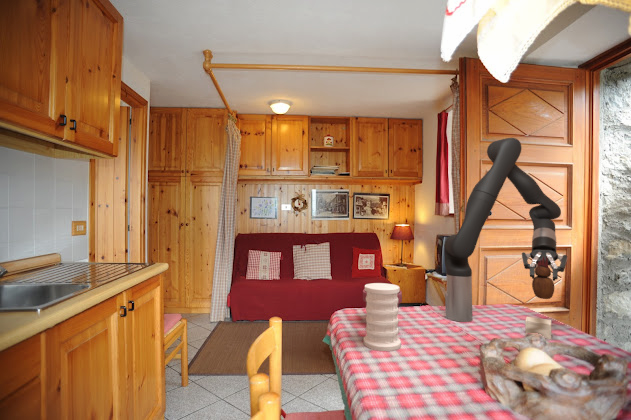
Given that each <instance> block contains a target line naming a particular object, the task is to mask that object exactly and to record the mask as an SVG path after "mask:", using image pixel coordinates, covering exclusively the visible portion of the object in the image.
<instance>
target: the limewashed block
mask: <svg viewBox="0 0 631 420" xmlns="http://www.w3.org/2000/svg"><path fill="white" fill-rule="evenodd" d="M524 326H525V335H526V334H527V333H538V334H541V335H542V336H544V337H546V338H547V339H551V340H552V336H551V335H552V320H551V319H545V318H537V317H532V316H526V318H525V325H524ZM547 339H546V340H547Z"/></svg>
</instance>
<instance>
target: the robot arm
mask: <svg viewBox="0 0 631 420" xmlns="http://www.w3.org/2000/svg"><path fill="white" fill-rule="evenodd" d="M521 153H522V143H521V141H520V140H519V139H517V138H516V137H515V138H514V137H508V138H507V137H506V138H502V139H498V140H494V141H492V142H491V143H490V144H488V146H487V149H486V154H487V156H488V158H489V161H491V162H492V166H491V167H490V169H489V170H488V171H487V172H486V173H485V174H484V176H482V177H481V178H480V180H479V181H478V182H477V183H476V184H475V185H474V187H473V188H472V191H471V193H470V195H469V197H468V198H467V202H466V206H465V211H464V213H465V214H464V219H463V222H462V224H461V226H460V228H459V229H458V231H457V233H456V234H451V235H449V236H448V237H447V238H446V239H445V241H444V248H443V249H444V250H443V251H444V252H443V253H444V255H443V256H444V266H445V270H446V271H445V272H446V293H445V295H444V296H445V298H444V299H445V300H444V301H445V309H444V310H445V313H444V315H445V319H448V320H451V321H455V322H461V323H462V322H463V323H464V322H465V323H467V322H472V321H473V276H472V275H473V271H472V267H471V266H470V264H469V259H468V258H469V257H471V256H472V255H473V253H474V252H475V249H476V247H477V244H478V241H479V238H480V234H481V232H482V229H483V227H484V225H485V223H486V221H487V220H488V218H489V216H490V213H491V211H492V210H493V207H494V205H495V203H496V201H497V199H498V197H499V194H500V192H501V190H502V189H503V185H504V184H505V182H506V179H508V180H509V181H510V182H511V183H512V185H513V186H514V187H515V189H516V190H517V192H518V193H519V194H520V197H522V199H523V200H524V202H525V203H526V205H530V206H531V205H536V206H532V207H531V208H530V209H529V211H528V216H529V218H530V220H531V222H532V227H533V229H532V230H533V231H532V233H533V234H532V238H531V251H530V253H526V252H522V253H521V257H522V258H521V260H522V263H523V267H524V269H525V270H529V277H530V278H531V279H532V280H533V279H534V278H535V277H536V276H535V275H536V274H535V268H536V267H537V266H538V261H540V260H542V259H543V257H544V260H546V257H547V256H548V267H549V268H550V269H551V271H552V281H553V282H555V281H556V280H558V278H559V277H558V276H559V275H558V273H559V272H561V273H564V272H565V270H566V265H567V262H568V256H567V254H563V255H559V254H558V253H557V243H558V242H557V236H556V224H555V221H553V220H556V219H558V218H560V217H561V215H562V210H561V208H560V206H559V204H557V203H556V202H555V201H554V200H552V199H551V198H550V197H548V195H546V194H545V193H544V192H543V189H541V187H540V186H539V184H538V182H537V181H536V180H535V179H534V178H533V177H532V176H531V175H529V174H528V173H526V172H525V171H524V170H523V169H522V168H520V167H519V166H518V165H517V164H516V163H517V162H518V159H519V158H520V156H521ZM530 258H531V260H532V261H531V263H529V262H528V261H529V259H530ZM557 260H559V262H560V265H559V266H558V265H557V264H556V261H557Z"/></svg>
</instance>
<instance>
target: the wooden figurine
mask: <svg viewBox="0 0 631 420" xmlns="http://www.w3.org/2000/svg"><path fill="white" fill-rule="evenodd" d="M551 274H552V269H551V268H550V266H549V265H548V256H547V257H546V260H544V257H543V259H542V260H540V261H538V266H537V267H536V268H535V275H536V276H535V277H534V279H532V282H531V286H532V287H531V288H532V291H533V294H534V296H535V297H536V298H538V299H543V300H549V299H551V298H553V296H554V293H555V283H554V281H553V278H551V276H552V275H551Z"/></svg>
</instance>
